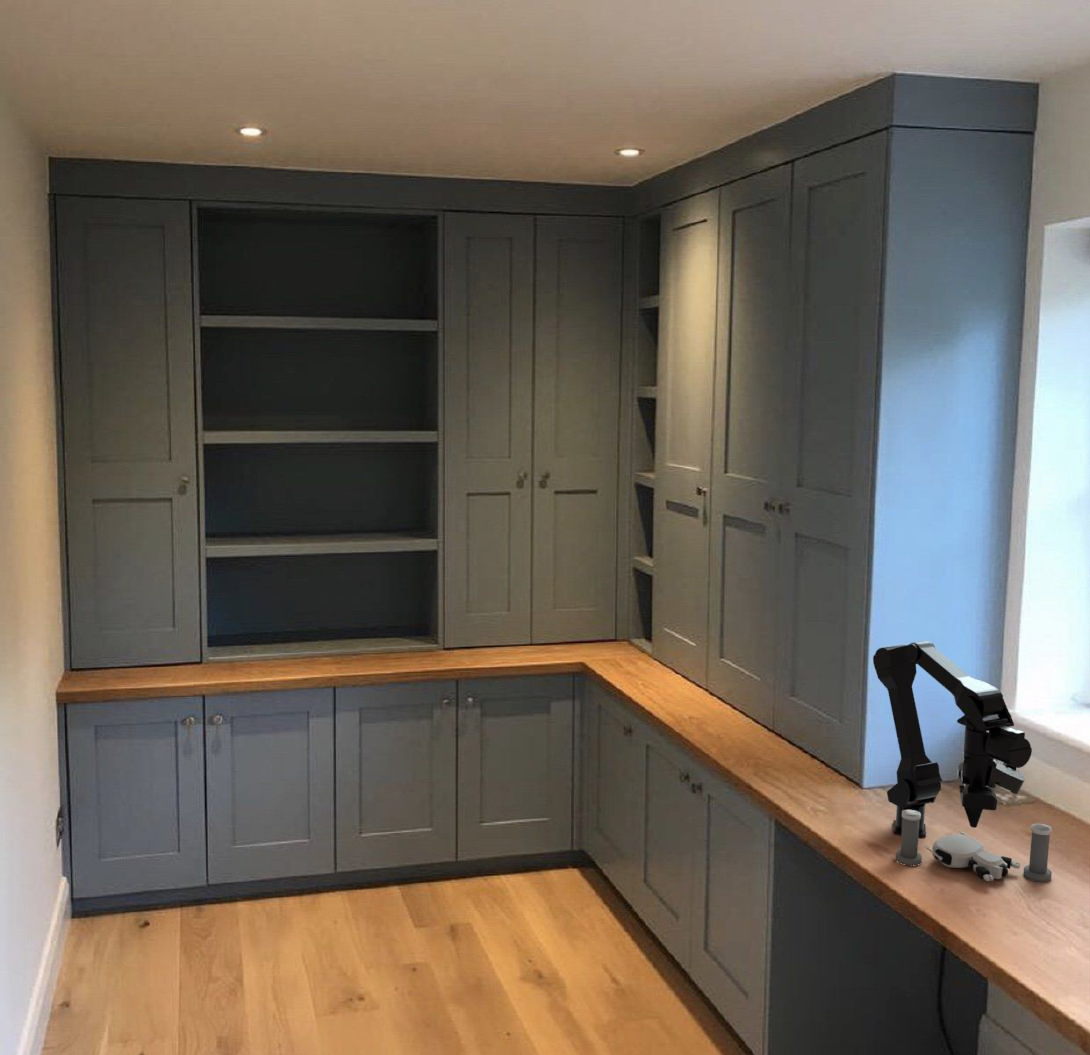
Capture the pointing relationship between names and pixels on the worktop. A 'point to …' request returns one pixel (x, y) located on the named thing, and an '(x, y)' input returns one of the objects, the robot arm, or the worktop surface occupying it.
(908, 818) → the tube
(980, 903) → the worktop surface
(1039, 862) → the tube
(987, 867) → the robot toy
